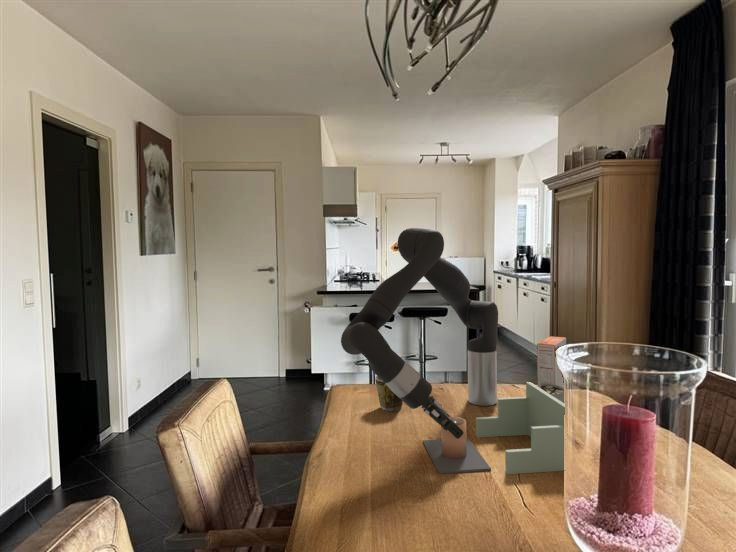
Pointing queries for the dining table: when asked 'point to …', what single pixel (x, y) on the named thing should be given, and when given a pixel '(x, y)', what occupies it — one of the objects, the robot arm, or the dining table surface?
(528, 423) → the stepped shelf frame
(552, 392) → the food container
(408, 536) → the dining table surface
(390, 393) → the ceramic cup
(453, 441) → the pink and brown cylinder
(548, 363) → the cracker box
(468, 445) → the charcoal mat
